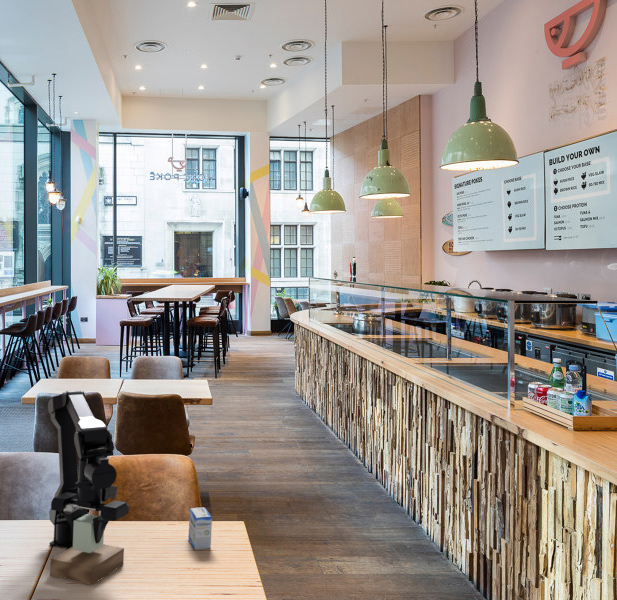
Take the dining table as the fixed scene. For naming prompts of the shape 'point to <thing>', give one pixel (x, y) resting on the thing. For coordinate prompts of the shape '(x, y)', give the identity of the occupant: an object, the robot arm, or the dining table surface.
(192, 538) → the medicine box
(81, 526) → the sage block
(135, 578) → the dining table surface
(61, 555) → the walnut base
